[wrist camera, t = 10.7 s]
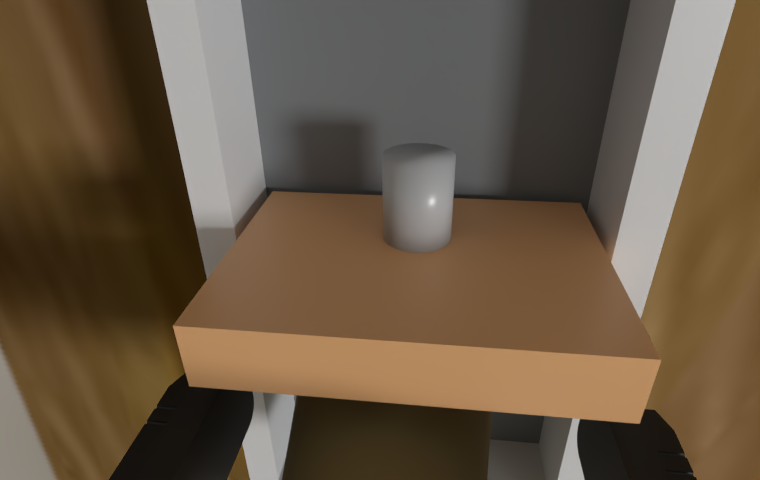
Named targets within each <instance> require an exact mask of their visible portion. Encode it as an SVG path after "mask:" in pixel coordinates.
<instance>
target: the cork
mask: <svg viewBox="0 0 760 480" xmlns="http://www.w3.org/2000/svg"><path fill="white" fill-rule="evenodd" d="M491 424H492V411H480V410H468V409H456V408H444V407H432V406H420V405H408V404H396V403H384V402H372V401H360V400H348V399H336V398H324V397H312V396H300V395H297V396H296V402H295V407H294V413H293V419H292V425H291V430H290V436H289V442H288V448H287V453H286V459H285V465H284V471H283V476H282V480H487V476H488V463H489V450H490V437H491Z"/></svg>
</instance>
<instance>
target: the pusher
mask: <svg viewBox="0 0 760 480" xmlns="http://www.w3.org/2000/svg"><path fill="white" fill-rule="evenodd" d="M455 165H456V154H455V153H454V152H453V151H452V150H451V149H449V148H446V147H444V146H440V145H435V144H428V143H408V144H401V145H396V146H393V147H390V148H388V149H386V150H385V151H384V152H383V154H382V194H383V195H359V194H333V193H307V192H280V191H273V192H272V193H271V194H270V196H269V197H268V198H267V200H266V201H265V202H264V204H263V205H262V206H261V208H260V209H259V210H258V212H257V213H256V214H255V216H254V217H253V218H252V220H251V221H250V223H249V224H248V225H247V227H246V228H245V229H244V231H243V232H242V233H241V235H240V236H239V237H238V239H237V240H236V241H235V243H234V244H233V245H232V247H231V248H230V249H229V251H228V252H227V253H226V255H225V256H224V258H223V259H222V260H221V262H220V263H219V264H218V266H217V267H216V268H215V270H214V271H213V272H212V274H211V275H210V276H209V278H208V279H207V280H206V282H205V283H204V284H203V286H202V287H201V289H200V290H199V291H198V293H197V294H196V295H195V297H194V298H193V299H192V301H191V302H190V303H189V305H188V306H187V307H186V309H185V310H184V311H183V313H182V314H181V315H180V317H179V318H178V320H177V321H176V322H175V324H174V325H173V329H174V332H175V336H176V340H177V343H178V347H179V351H180V354H181V358H182V362H183V366H184V369H185V373H186V377H187V380H188V384H189V386H192V387H204V388H216V389H228V390H240V391H252V392H264V393H276V394H288V395H300V396H312V397H324V398H336V399H348V400H360V401H372V402H384V403H396V404H408V405H420V406H432V407H444V408H456V409H468V410H480V411H492V412H503V413H515V414H527V415H539V416H551V417H563V418H575V419H587V420H599V421H611V422H623V423H635V424H640V421H641V418H642V415H643V412H644V410H645V407H646V404H647V401H648V398H649V395H650V392H651V389H652V386H653V383H654V380H655V377H656V374H657V371H658V369H659V366H660V363H661V358H660V356H659V354H658V352H657V350H656V348H655V347H654V345H653V343H652V341H651V339H650V337H649V335H648V333H647V331H646V329H645V327H644V325H643V323H642V321H641V319H640V317H639V315H638V314H637V312H636V310H635V308H634V306H633V304H632V302H631V300H630V298H629V296H628V294H627V292H626V290H625V288H624V286H623V284H622V282H621V281H620V279H619V277H618V275H617V273H616V271H615V269H614V267H613V265H612V263H611V261H610V259H609V257H608V255H607V253H606V251H605V249H604V248H603V246H602V244H601V242H600V240H599V238H598V236H597V234H596V232H595V230H594V228H593V226H592V224H591V222H590V220H589V218H588V216H587V215H586V213H585V211H584V209H583V207H582V205H581V203H570V202H544V201H518V200H491V199H465V198H453V197H454V181H455Z"/></svg>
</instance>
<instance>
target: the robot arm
mask: <svg viewBox="0 0 760 480" xmlns="http://www.w3.org/2000/svg"><path fill="white" fill-rule="evenodd" d="M253 410H254V397H253V392H252V391H240V390H228V389H216V388H204V387H192V386H189V384H188V380H187V377H186V373H185V374H184V375H182V376H181V377H180V378H179V379H178V380H176V381H175V382H174V383H173V384H172V385H170V386H169V387H168V389H167V390H166V392H165V394H164V395H163V397H162V398H161V400H160V401H159V403H158V404H157V408H156V409H154V411H153V412H152V414H151V415H150V417H149V418H148V420H147V424H145V425H144V426H143V428H142V429H141V431H140V432H139V434H138V435H137V437H136V439H135V440H134V442H133V443H132V445H131V446H130V448H129V449H128V451H127V452H126V454H125V456H124V457H123V459H122V460H121V462H120V463H119V465H118V466H117V468H116V470H115V471H114V473H113V474H112V476H111V477H110V479H109V480H227V478H228V476H229V473H230V471H231V468H232V466H233V464H234V461H235V459H236V457H237V454H238V452H239V450H240V447H241V445H242V442H243V440H244V438H245V435H246V433H247V431H248V428H249V426H250V423H251V420H252V416H253ZM577 448H578V455H579V459H580V463H581V467H582V471H583V475H584V479H585V480H697V479H696V477H694V476H693V470H692V468H691V466H690V464H689V462H688V460H687V458H685V456H684V454H685V453H684V451H683V449H682V447H681V445H680V442H679V440H678V438H677V436H676V434H675V432H674V430H673V429H672V428H671V427H670V426H669V425H668V424H667V423H666V421H665V420H664V419H663V418H662V417H661V416H660V415H659V414H658V413H657V412H656V411H655V410H648V409H645V410H644V412H643V415H642V418H641V421H640V424H635V423H623V422H611V421H599V420H587V419H580V421H579V424H578V430H577Z"/></svg>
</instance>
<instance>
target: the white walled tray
mask: <svg viewBox="0 0 760 480" xmlns="http://www.w3.org/2000/svg"><path fill="white" fill-rule="evenodd" d="M735 2H736V0H147V5H148V9H149V14H150V18H151V23H152V28H153V32H154V37H155V42H156V46H157V51H158V55H159V60H160V65H161V69H162V74H163V78H164V83H165V88H166V92H167V97H168V102H169V106H170V111H171V115H172V120H173V125H174V129H175V134H176V139H177V143H178V148H179V152H180V157H181V162H182V166H183V171H184V176H185V180H186V185H187V189H188V194H189V199H190V203H191V208H192V212H193V217H194V222H195V226H196V231H197V236H198V240H199V245H200V249H201V254H202V259H203V263H204V268H205V273H206V277H207V279H208V278H209V276H210V275H211V274H212V272H213V271H214V270H215V268H216V267H217V266H218V264H219V263H220V262H221V260H222V259H223V258H224V256H225V255H226V253H227V252H228V251H229V249H230V248H231V247H232V245H233V244H234V243H235V241H236V240H237V239H238V237H239V236H240V235H241V233H242V232H243V231H244V229H245V228H246V227H247V225H248V224H249V223H250V221H251V220H252V218H253V217H254V216H255V214H256V213H257V212H258V210H259V209H260V208H261V206H262V205H263V204H264V202H265V201H266V200H267V198H268V197H269V196H270V194H271V193H272V192H273V191H280V192H307V193H333V194H359V195H383V194H382V154H383V152H384V151H385V150H386V149H388V148H390V147H393V146H396V145H401V144H408V143H428V144H435V145H440V146H444V147H446V148H449V149H451V150H452V151H453V152H454V153H455V154H456V165H455V181H454V197H453V198H465V199H491V200H518V201H544V202H570V203H581V205H582V207H583V209H584V211H585V213H586V215H587V216H588V218H589V220H590V222H591V224H592V226H593V228H594V230H595V232H596V234H597V236H598V238H599V240H600V242H601V244H602V246H603V248H604V249H605V251H606V253H607V255H608V257H609V259H610V261H611V263H612V265H613V267H614V269H615V271H616V273H617V275H618V277H619V279H620V281H621V282H622V284H623V286H624V288H625V290H626V292H627V294H628V296H629V298H630V300H631V302H632V304H633V306H634V308H635V310H636V312H637V314H638V315H639V317H640V319H641V316H642V312H643V309H644V306H645V302H646V299H647V296H648V292H649V289H650V286H651V282H652V279H653V276H654V272H655V269H656V266H657V262H658V259H659V256H660V252H661V249H662V245H663V242H664V239H665V235H666V232H667V229H668V225H669V222H670V219H671V215H672V212H673V209H674V205H675V202H676V199H677V195H678V192H679V189H680V185H681V182H682V179H683V175H684V172H685V169H686V165H687V162H688V159H689V155H690V152H691V149H692V145H693V142H694V139H695V135H696V132H697V129H698V125H699V122H700V118H701V115H702V112H703V108H704V105H705V102H706V98H707V95H708V92H709V88H710V85H711V82H712V78H713V75H714V72H715V68H716V65H717V62H718V58H719V55H720V52H721V48H722V45H723V42H724V38H725V35H726V32H727V28H728V25H729V22H730V18H731V15H732V12H733V8H734V5H735ZM296 396H297V395H288V394H276V393H264V392H253V397H254V410H253V416H252V420H251V423H250V426H249V428H248V431H247V433H246V435H245V438H244V440H243V442H242V444H243V448H244V453H245V457H246V462H247V467H248V471H249V476H250V480H282V476H283V471H284V465H285V459H286V453H287V448H288V442H289V436H290V430H291V425H292V419H293V413H294V407H295V402H296ZM579 421H580V419H575V418H563V417H551V416H539V415H527V414H515V413H503V412H492V424H491V437H490V450H489V463H488V476H487V480H585V479H584V475H583V471H582V467H581V463H580V459H579V455H578V448H577V430H578V424H579Z"/></svg>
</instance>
